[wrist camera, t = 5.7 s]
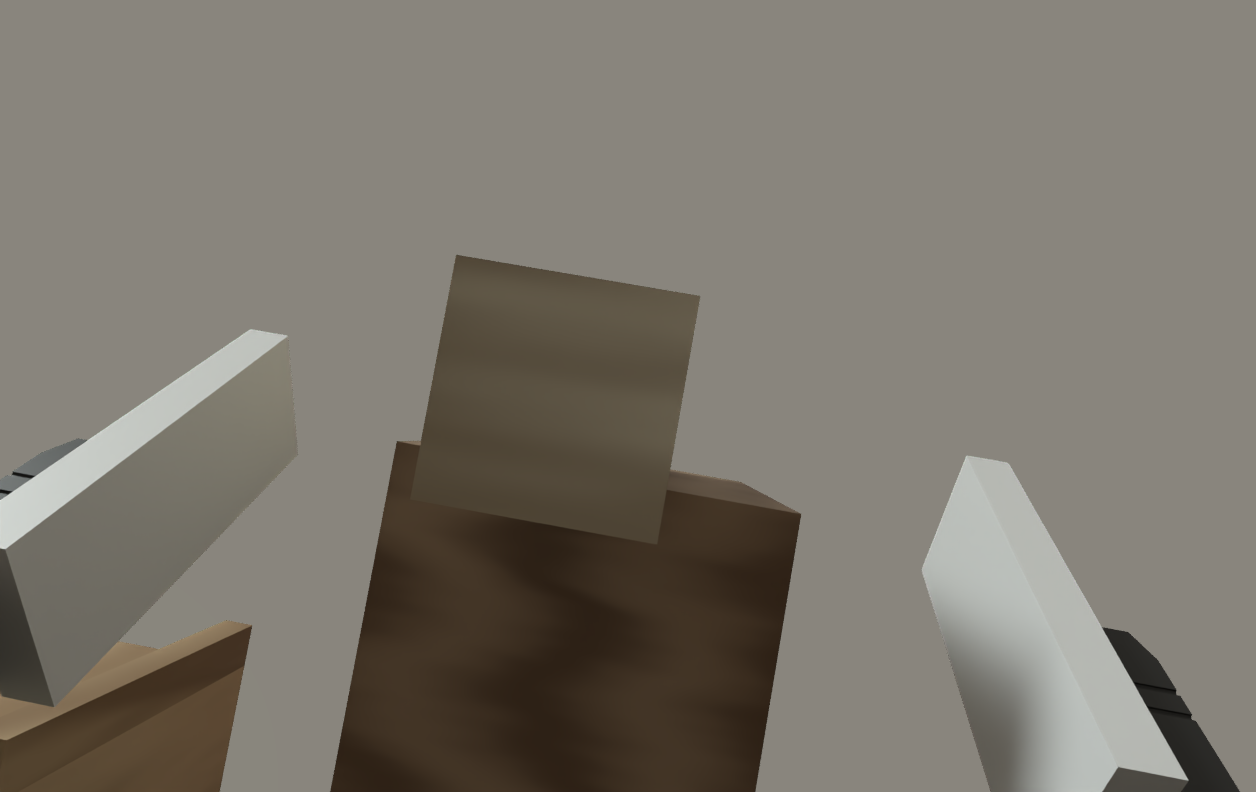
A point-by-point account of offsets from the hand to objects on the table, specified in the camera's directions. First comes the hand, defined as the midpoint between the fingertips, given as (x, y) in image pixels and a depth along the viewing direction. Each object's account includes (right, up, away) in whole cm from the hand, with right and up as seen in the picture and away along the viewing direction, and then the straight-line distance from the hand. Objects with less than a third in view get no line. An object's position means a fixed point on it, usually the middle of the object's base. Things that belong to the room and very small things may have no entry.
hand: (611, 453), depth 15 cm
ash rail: (-1, -1, +9) cm, 9 cm away
